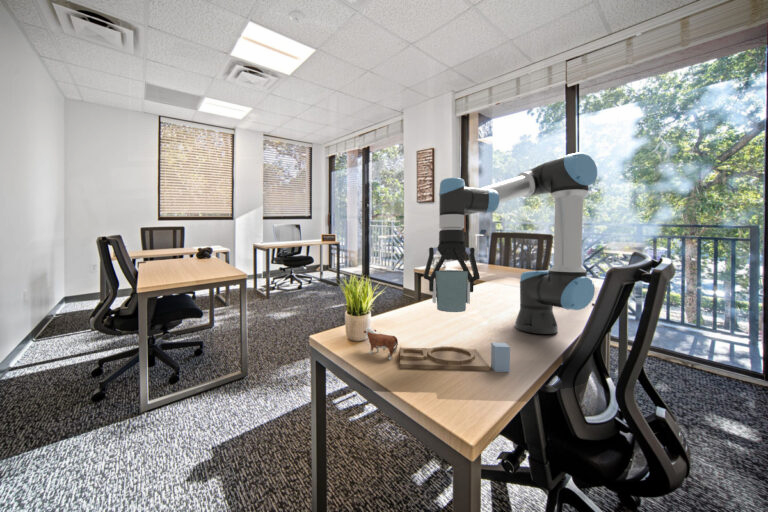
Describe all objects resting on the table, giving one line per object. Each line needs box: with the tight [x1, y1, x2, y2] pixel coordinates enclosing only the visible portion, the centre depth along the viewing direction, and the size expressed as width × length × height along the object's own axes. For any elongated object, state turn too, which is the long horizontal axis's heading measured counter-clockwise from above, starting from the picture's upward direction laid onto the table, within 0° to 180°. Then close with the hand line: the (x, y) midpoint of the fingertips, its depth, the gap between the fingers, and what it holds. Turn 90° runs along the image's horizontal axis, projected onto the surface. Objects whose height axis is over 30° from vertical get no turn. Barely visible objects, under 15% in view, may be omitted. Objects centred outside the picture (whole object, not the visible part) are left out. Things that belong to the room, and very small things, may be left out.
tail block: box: [490, 342, 511, 373], centre depth 90 cm, size 4×4×7 cm
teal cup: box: [434, 269, 468, 313], centre depth 97 cm, size 10×10×12 cm
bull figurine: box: [363, 327, 399, 361], centre depth 102 cm, size 4×13×8 cm, turn 51°
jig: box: [399, 345, 490, 372], centre depth 98 cm, size 25×16×2 cm, turn 87°
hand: (450, 302), depth 97 cm, fingers closed on teal cup, 9 cm apart
